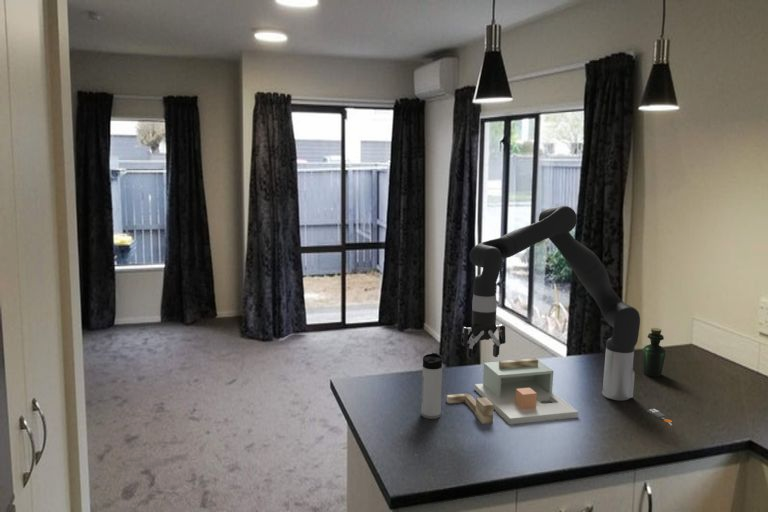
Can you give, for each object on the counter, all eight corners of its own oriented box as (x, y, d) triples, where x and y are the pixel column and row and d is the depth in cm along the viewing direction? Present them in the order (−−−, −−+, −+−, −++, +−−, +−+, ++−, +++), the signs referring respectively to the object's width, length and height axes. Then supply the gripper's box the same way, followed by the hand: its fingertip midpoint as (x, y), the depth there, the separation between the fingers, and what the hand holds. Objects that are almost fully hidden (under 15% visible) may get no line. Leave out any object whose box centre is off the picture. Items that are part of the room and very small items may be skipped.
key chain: (644, 413, 203) (645, 408, 203) (654, 411, 204) (654, 407, 204) (674, 429, 191) (674, 425, 190) (683, 428, 192) (684, 423, 192)
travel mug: (442, 412, 200) (444, 353, 197) (438, 420, 194) (439, 360, 190) (424, 409, 202) (426, 351, 199) (419, 417, 196) (420, 358, 192)
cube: (528, 401, 204) (529, 387, 204) (536, 407, 200) (536, 393, 199) (515, 403, 203) (515, 388, 202) (522, 409, 198) (522, 394, 198)
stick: (535, 364, 217) (535, 358, 217) (537, 365, 216) (538, 360, 215) (498, 366, 214) (499, 360, 214) (501, 368, 212) (501, 362, 212)
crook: (470, 398, 211) (470, 382, 210) (492, 422, 193) (493, 404, 192) (446, 401, 209) (447, 384, 208) (466, 425, 191) (467, 407, 190)
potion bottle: (642, 376, 235) (646, 331, 231) (639, 369, 242) (643, 325, 239) (665, 378, 232) (669, 333, 229) (662, 371, 240) (666, 327, 237)
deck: (535, 384, 225) (536, 358, 224) (578, 417, 198) (580, 388, 196) (474, 389, 219) (475, 362, 218) (509, 424, 192) (511, 394, 190)
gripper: (500, 304, 197) (498, 352, 200) (458, 306, 194) (457, 355, 196) (510, 309, 190) (508, 359, 193) (467, 312, 186) (466, 363, 189)
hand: (482, 357), depth 195 cm, fingers open, 8 cm apart
